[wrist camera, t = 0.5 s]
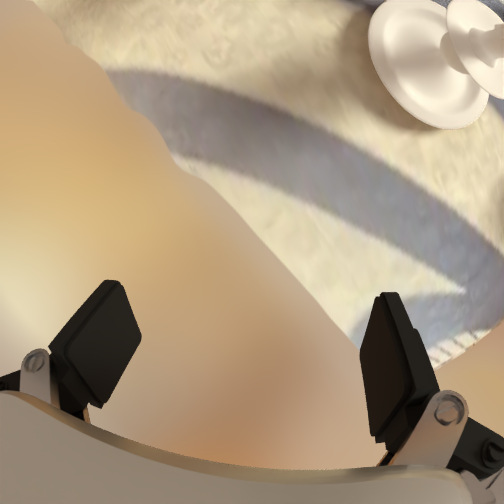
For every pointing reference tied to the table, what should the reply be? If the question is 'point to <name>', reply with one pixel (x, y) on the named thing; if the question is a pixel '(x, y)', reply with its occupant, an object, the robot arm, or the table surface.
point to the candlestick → (439, 58)
